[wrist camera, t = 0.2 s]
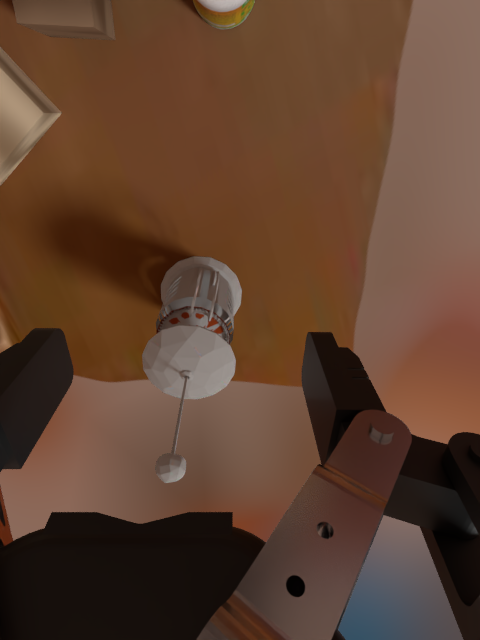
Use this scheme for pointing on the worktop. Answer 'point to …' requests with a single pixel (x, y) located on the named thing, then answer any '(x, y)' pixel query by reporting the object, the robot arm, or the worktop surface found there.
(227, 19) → the supplement bottle
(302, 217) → the worktop surface
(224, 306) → the french press
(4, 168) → the pine block
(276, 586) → the robot arm
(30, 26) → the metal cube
